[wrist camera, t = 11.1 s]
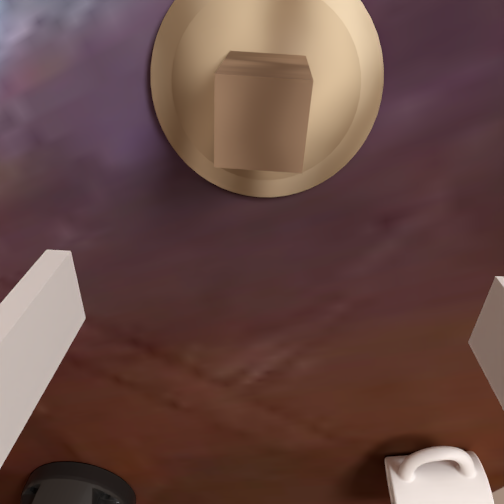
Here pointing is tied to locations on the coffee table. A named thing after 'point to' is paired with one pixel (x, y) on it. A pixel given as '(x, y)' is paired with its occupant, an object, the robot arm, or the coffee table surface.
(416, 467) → the mug
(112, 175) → the coffee table surface
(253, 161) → the block
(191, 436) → the coffee table surface
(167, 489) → the coffee table surface
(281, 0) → the plate
